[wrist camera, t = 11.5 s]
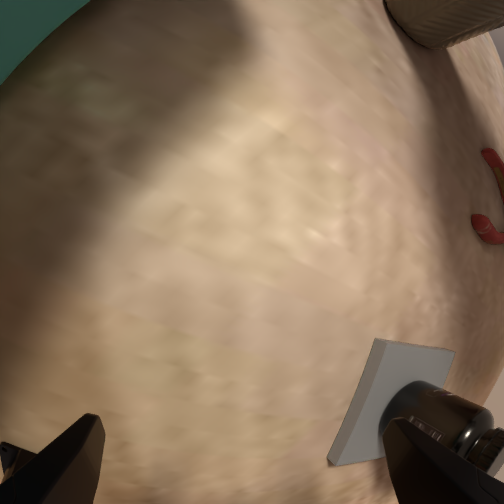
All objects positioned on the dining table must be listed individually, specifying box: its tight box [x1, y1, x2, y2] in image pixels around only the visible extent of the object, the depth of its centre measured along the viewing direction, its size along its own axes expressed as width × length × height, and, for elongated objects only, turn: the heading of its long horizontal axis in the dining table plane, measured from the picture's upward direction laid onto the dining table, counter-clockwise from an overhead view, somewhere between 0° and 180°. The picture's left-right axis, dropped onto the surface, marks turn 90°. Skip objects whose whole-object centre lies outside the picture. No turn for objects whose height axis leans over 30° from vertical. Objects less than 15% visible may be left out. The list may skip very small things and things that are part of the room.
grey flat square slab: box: [327, 338, 455, 466], centre depth 25 cm, size 12×12×2 cm
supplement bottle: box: [380, 380, 504, 477], centre depth 19 cm, size 7×7×12 cm
